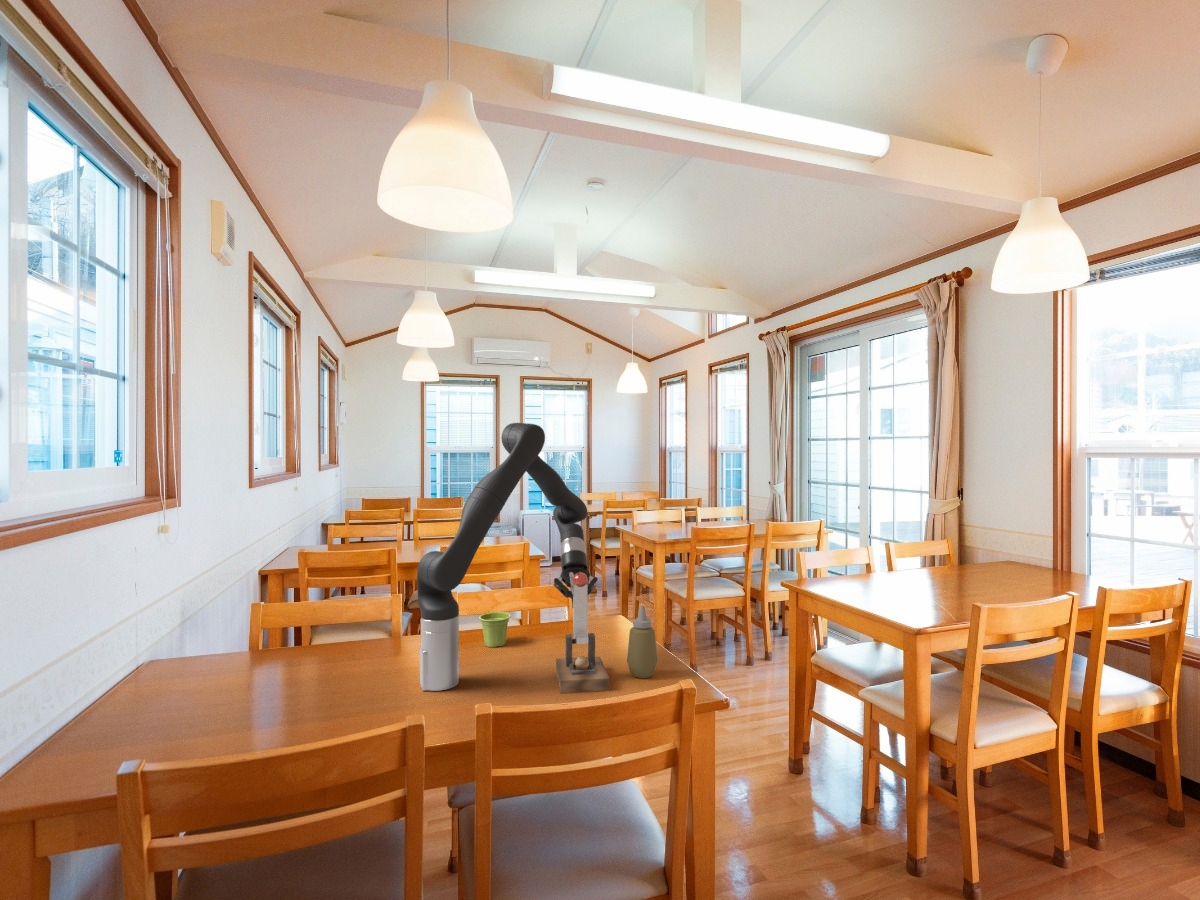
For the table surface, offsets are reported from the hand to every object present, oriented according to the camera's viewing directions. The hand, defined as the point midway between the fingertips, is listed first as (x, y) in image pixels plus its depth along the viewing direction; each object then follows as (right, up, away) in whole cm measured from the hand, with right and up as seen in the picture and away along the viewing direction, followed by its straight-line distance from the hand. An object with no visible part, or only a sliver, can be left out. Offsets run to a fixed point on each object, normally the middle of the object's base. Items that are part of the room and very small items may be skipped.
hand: (577, 609), depth 164 cm
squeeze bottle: (+17, -16, -5) cm, 24 cm away
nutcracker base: (+1, -16, -9) cm, 18 cm away
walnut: (+1, -13, -10) cm, 16 cm away
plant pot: (-26, -16, +20) cm, 37 cm away
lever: (+1, -6, -8) cm, 9 cm away
